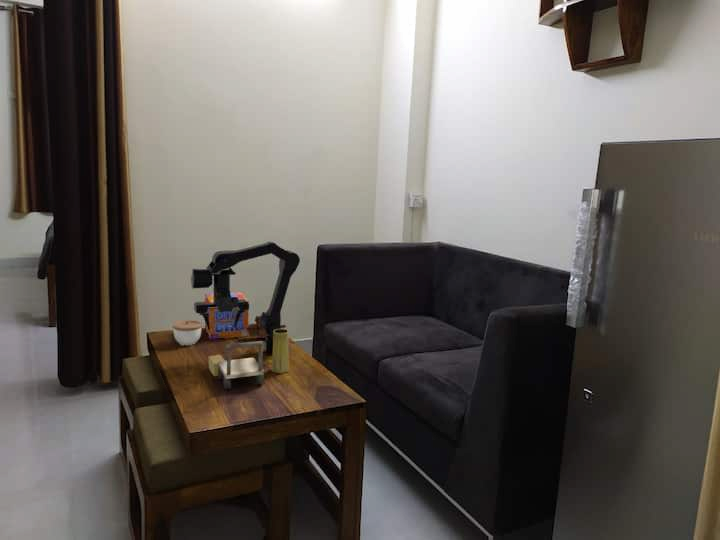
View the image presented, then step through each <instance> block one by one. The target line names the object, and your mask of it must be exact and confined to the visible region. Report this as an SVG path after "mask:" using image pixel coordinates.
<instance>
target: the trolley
mask: <svg viewBox="0 0 720 540" xmlns="http://www.w3.org/2000/svg"><path fill="white" fill-rule="evenodd" d="M263 345H264V340H259V341H248V342H240V343H239V342H238V343H229V344H226V346H225V347H226V360H225V361H218V366H219V367H218V376H217V378H218V379H219V380H221V379H222V380H223V381H222V382H223V388H224V390H230V389H231V388H232V380H231V379H237V378H245V377H246V378H247V377H253V376H255V383H256V385H258V386H259V385H264V383H265V380H264V379H265V378H264V375H265V370H264V369H263ZM251 347H258V351H257V353H258V357H257V359H258V362H257V360H256V358H254V357H248V358H247V357H246V358H237V359H232V349H241V348H251Z"/></svg>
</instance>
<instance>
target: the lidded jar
mask: <svg viewBox="0 0 720 540" xmlns="http://www.w3.org/2000/svg"><path fill="white" fill-rule="evenodd" d="M202 324H203V323H202V322H200V321H198V320H197V321H196V320H189V319H186V320H181V321H177V322H174V323H173V324H172V330H173V336H174V338H175V339H174V340H175V341H176V342H177V343H179V345H181V346H184V345H186V346H188V345H189V346H194V345H196V343H197V342H198V341H199V339H200V338H201V335H202V326H203V325H202ZM193 344H194V345H193ZM186 346H185V347H186Z"/></svg>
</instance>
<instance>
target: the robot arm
mask: <svg viewBox="0 0 720 540" xmlns="http://www.w3.org/2000/svg"><path fill="white" fill-rule="evenodd" d="M270 254H272V256H275V257H276V258H278V259H279V263H278V271H279V273H278V276H277V280H276V283H275V287H274V290H273V294H272V298H271V300H270V304H269V308H268V309H267V310H266V312H265V311H262V312H261V315H262V317H261V319H260V322H261V324H260V325H261V328H262V329H263V330H264V331H265V332H266V334H267V335H268V336H266V338H265V340H264V351H265V352H266V354H267V355H268V356H272V354H273V331H274V330H276V329H280V324H281V323H282V322H281V321H282V317H281V314H282V313H281V311H282V309H283V305H284V302H285V299H286V298H285V297H286V294H287V291H288V287H289V285H290V280H291V278H292V276H293V275H294V273H295V272H296V270H297V269H298V266H299V265H300V262H301V258H300V256H299V255H298V254H297V253H295V252H293V251H291V250H286V249H284V248H283V247H281V246H279V245H278V244H276V243H275V242H273V241H267V242H265V243H262V244H258V245H253V246H249V247H245V248H243V249H238V250H218V251H216V252H214V254H213V255H212V257H211V261H210V263H208V265H207V267H206V268H192V270H191V271H192V272H191V276H190V283H191V288H192V289H208V288H210V287H211V286H212V285H213V294H214V299H213V302H214V304H207V303H206V302H205V301H195V302H194V303H193V311H194V312H195V313H196V314H199V316H202V317H203V320H204V324H205V323H206V325H207V328H208V330H210V325H209V313H208V312H207V311H208V309H218V310H219V312H227V311H229V312H231V311H233V308H234V321H233V325H234V328H236V325H237V322H238V319H239V317H240V315H241V314H242V313H243V312H245V311H246V310H249V311H250V302H249V303H248V302H247V301H246V300H245V299H238V297H231V295H230V293H231V276H234V275H236V274H237V273H236V272H235V271H234V270H233V268H232V267H234V266H236V265H238V264H239V263H241V262H244V261H247V260H252V259H256V258H258V257H263V256H266V255H267V256H268V255H270ZM281 325H282V324H281Z"/></svg>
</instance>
